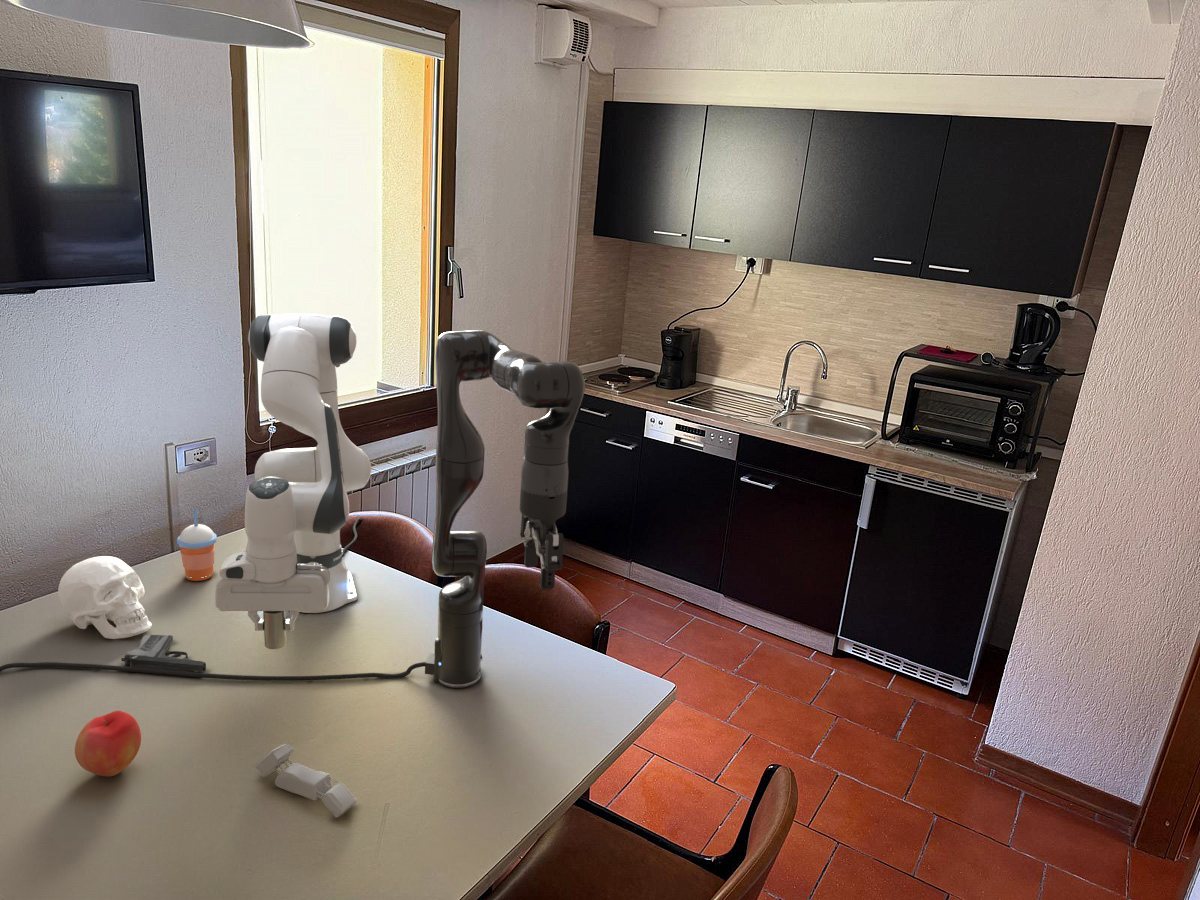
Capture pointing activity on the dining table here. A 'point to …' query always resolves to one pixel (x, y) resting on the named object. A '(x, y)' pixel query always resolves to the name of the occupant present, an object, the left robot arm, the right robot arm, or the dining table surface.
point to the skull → (104, 597)
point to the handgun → (161, 656)
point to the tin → (274, 629)
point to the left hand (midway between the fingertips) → (274, 629)
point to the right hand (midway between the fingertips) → (538, 577)
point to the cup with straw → (197, 550)
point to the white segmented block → (306, 781)
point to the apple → (108, 743)
